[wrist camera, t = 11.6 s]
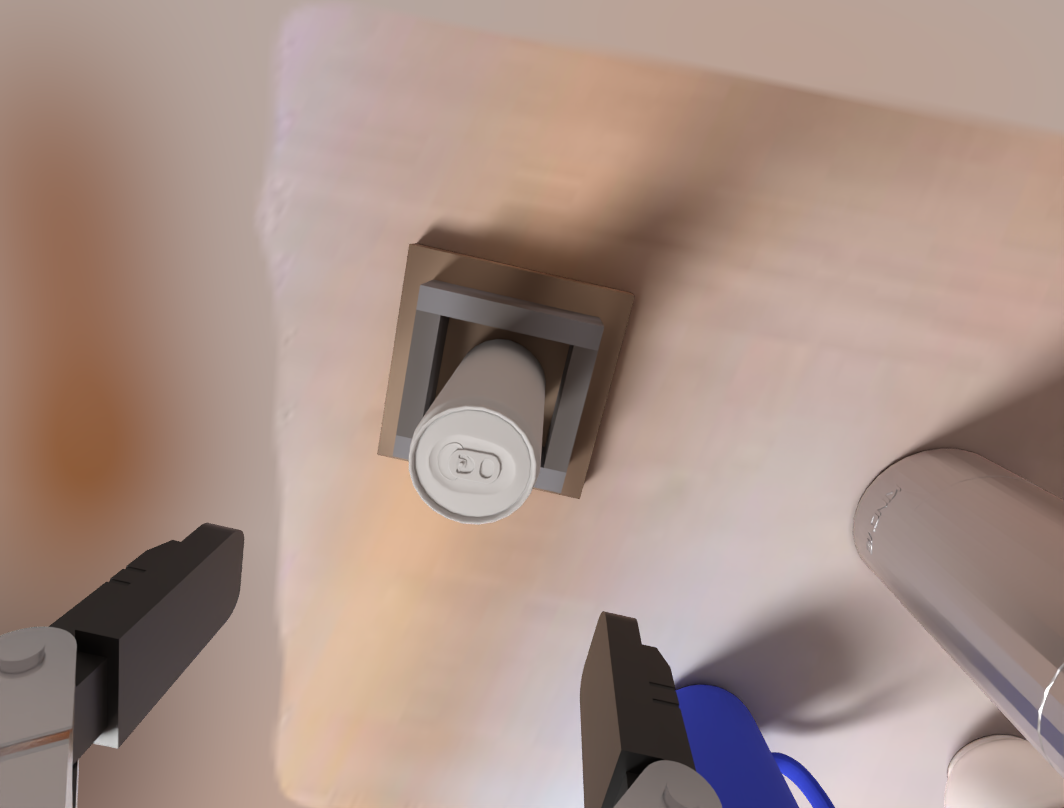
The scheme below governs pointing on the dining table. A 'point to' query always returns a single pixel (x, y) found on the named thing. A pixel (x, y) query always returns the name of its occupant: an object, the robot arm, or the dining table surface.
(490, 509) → the beverage can
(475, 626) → the dining table surface
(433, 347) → the can holder
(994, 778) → the lidded jar
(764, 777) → the mug
